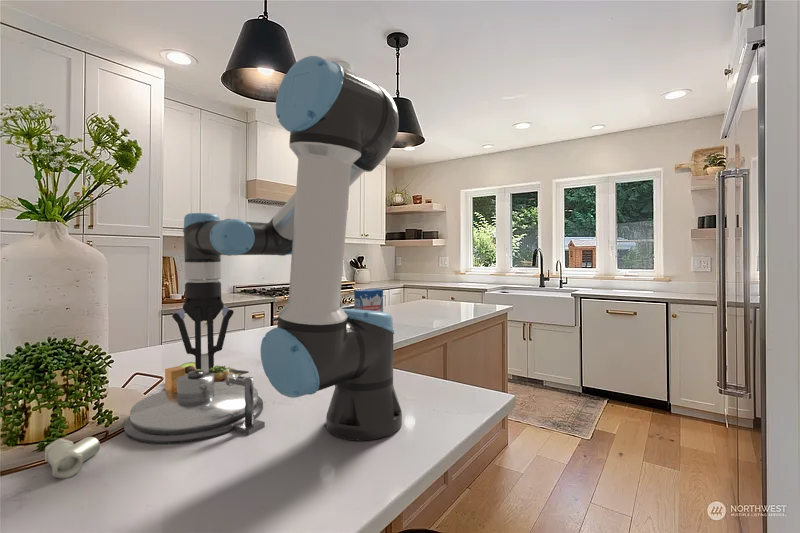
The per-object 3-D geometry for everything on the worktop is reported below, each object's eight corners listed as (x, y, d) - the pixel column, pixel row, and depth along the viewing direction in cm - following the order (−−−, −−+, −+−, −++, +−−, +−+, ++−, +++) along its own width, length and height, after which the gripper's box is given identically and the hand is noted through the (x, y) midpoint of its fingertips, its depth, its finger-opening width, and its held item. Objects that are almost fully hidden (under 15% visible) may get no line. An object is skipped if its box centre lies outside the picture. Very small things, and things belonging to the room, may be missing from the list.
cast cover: (220, 399, 85) (220, 371, 85) (187, 409, 79) (186, 379, 79) (204, 392, 89) (203, 365, 89) (171, 401, 84) (170, 373, 83)
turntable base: (271, 426, 79) (271, 421, 79) (111, 456, 67) (111, 450, 67) (255, 387, 102) (255, 383, 102) (134, 404, 90) (134, 400, 90)
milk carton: (360, 342, 155) (360, 291, 154) (354, 339, 160) (354, 289, 160) (383, 339, 160) (383, 290, 159) (376, 336, 165) (376, 288, 165)
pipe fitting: (94, 452, 70) (44, 465, 65) (96, 430, 70) (45, 440, 65) (107, 468, 65) (53, 483, 60) (109, 444, 65) (55, 456, 60)
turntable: (280, 404, 87) (280, 372, 87) (164, 447, 68) (164, 406, 68) (220, 383, 101) (220, 356, 101) (110, 414, 82) (109, 380, 82)
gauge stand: (264, 426, 79) (264, 375, 79) (248, 435, 75) (248, 381, 75) (235, 419, 82) (234, 370, 82) (218, 426, 79) (218, 375, 79)
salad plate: (251, 369, 119) (251, 354, 119) (245, 389, 102) (245, 371, 102) (180, 375, 114) (179, 359, 114) (160, 396, 97) (160, 377, 97)
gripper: (232, 279, 98) (233, 374, 99) (171, 281, 92) (173, 382, 93) (235, 280, 91) (236, 382, 92) (169, 282, 85) (171, 391, 86)
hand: (205, 382), depth 92 cm, fingers closed
